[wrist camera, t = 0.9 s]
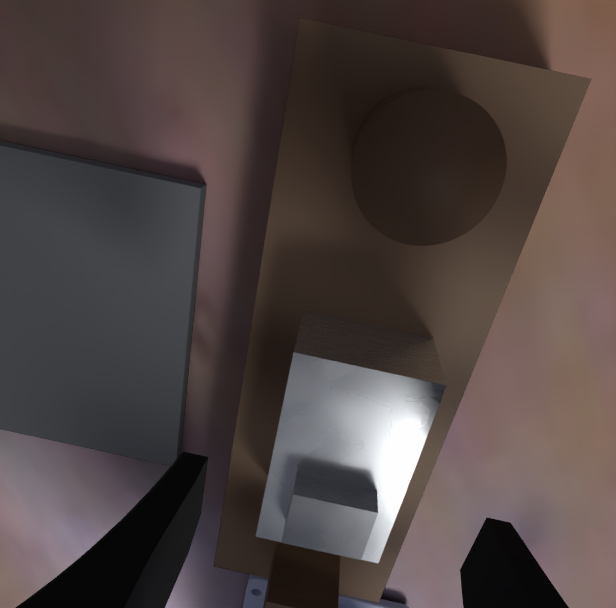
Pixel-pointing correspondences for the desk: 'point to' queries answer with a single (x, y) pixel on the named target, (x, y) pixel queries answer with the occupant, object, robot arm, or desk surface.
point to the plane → (386, 248)
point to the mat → (96, 302)
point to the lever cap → (349, 435)
